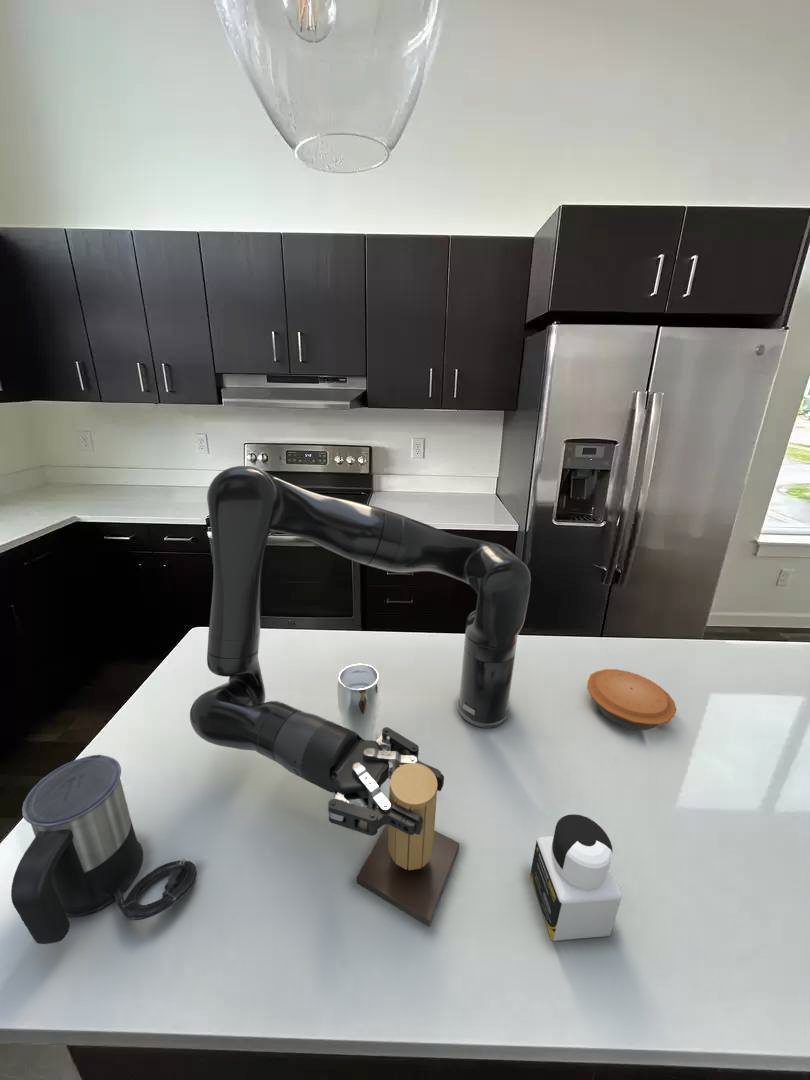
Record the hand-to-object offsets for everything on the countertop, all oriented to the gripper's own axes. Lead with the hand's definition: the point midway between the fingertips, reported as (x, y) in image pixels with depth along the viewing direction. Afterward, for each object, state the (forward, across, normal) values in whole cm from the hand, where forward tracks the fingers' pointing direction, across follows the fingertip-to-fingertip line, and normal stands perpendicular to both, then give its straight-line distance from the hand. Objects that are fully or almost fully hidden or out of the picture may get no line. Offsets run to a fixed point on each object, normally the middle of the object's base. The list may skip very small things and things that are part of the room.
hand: (432, 803), depth 50 cm
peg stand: (-3, 0, +13) cm, 13 cm away
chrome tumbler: (-19, +13, +13) cm, 26 cm away
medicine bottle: (+16, +5, +13) cm, 21 cm away
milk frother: (-33, -18, +13) cm, 39 cm away
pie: (+22, +46, +13) cm, 53 cm away
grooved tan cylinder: (-3, 0, +9) cm, 9 cm away
